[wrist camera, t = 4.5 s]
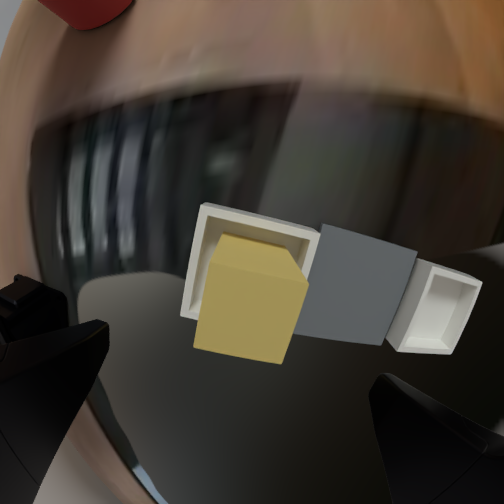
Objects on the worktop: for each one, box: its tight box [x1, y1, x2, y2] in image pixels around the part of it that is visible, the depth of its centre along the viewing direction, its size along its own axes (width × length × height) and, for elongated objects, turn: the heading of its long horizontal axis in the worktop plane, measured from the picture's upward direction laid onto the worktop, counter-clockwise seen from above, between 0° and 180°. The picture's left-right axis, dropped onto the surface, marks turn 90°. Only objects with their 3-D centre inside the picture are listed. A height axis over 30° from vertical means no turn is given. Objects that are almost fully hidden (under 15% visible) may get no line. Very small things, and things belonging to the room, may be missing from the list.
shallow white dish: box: [180, 202, 321, 320], centre depth 17 cm, size 7×7×2 cm
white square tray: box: [386, 258, 482, 354], centre depth 18 cm, size 7×7×2 cm
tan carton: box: [193, 231, 309, 364], centre depth 15 cm, size 4×4×7 cm
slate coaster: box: [293, 223, 417, 345], centre depth 19 cm, size 8×8×1 cm
